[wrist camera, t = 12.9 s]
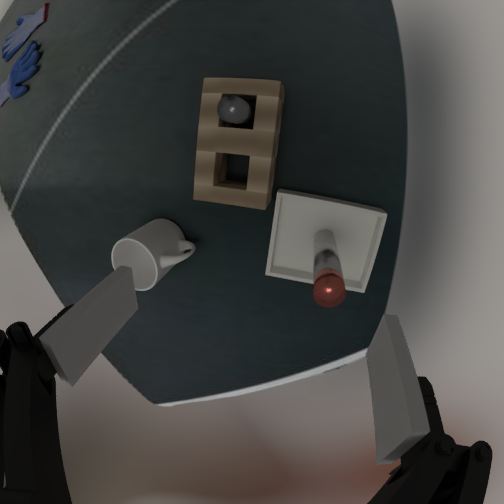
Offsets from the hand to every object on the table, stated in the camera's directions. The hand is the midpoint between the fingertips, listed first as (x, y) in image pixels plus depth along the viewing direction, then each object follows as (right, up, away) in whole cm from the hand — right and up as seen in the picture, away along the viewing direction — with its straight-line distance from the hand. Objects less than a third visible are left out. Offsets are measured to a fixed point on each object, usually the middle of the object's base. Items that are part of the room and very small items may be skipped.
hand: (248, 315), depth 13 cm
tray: (+11, +5, +28) cm, 31 cm away
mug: (-14, +5, +34) cm, 37 cm away
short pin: (0, +23, +23) cm, 33 cm away
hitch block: (-1, +19, +25) cm, 32 cm away
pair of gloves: (-63, +58, +23) cm, 89 cm away
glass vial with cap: (+11, +5, +28) cm, 30 cm away
